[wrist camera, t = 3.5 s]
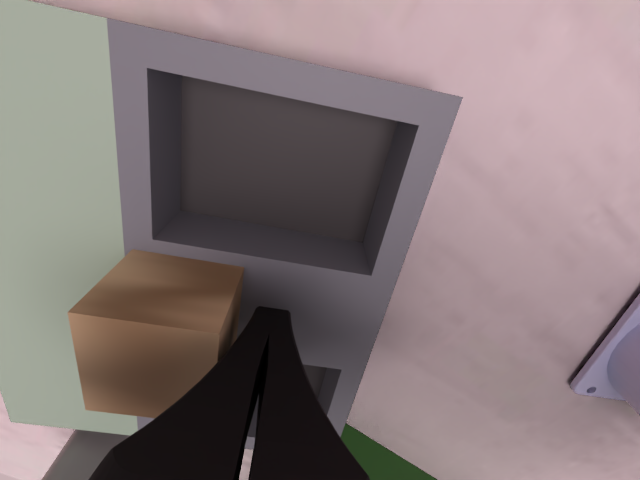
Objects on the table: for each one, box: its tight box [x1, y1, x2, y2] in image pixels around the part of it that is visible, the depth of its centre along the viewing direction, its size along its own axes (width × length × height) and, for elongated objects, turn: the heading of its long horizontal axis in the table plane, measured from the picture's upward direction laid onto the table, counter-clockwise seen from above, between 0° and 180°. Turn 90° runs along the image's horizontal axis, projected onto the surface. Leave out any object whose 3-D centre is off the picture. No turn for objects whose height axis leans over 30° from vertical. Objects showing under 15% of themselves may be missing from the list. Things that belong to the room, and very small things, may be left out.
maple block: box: [67, 249, 244, 418], centre depth 12 cm, size 4×4×4 cm
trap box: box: [0, 0, 463, 449], centre depth 14 cm, size 16×18×3 cm
